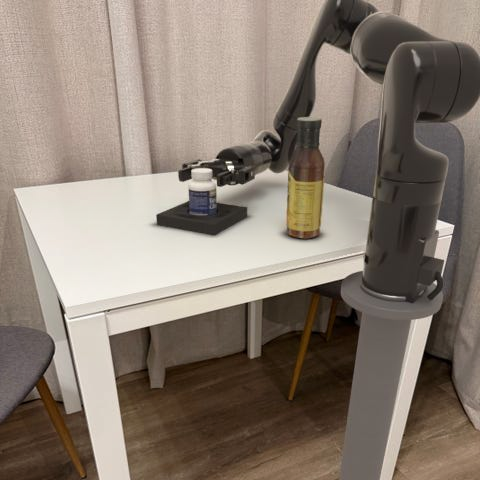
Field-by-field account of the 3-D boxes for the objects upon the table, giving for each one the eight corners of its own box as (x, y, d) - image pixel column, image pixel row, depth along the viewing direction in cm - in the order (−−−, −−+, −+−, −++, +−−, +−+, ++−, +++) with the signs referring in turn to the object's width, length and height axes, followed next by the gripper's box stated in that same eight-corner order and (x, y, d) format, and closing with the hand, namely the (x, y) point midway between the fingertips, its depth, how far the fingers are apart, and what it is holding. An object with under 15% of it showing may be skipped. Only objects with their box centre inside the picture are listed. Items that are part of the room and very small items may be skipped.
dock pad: (247, 216, 98) (247, 207, 97) (214, 235, 88) (214, 224, 87) (193, 208, 103) (193, 198, 102) (156, 224, 93) (155, 214, 92)
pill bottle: (214, 225, 93) (213, 173, 88) (187, 224, 93) (184, 172, 89) (219, 216, 98) (218, 167, 93) (192, 215, 98) (190, 166, 93)
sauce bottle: (296, 226, 92) (303, 114, 82) (326, 233, 89) (336, 117, 79) (278, 236, 87) (283, 118, 78) (309, 243, 84) (318, 121, 74)
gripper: (210, 142, 104) (166, 154, 92) (270, 148, 99) (231, 161, 86) (211, 177, 108) (169, 194, 96) (269, 185, 102) (231, 203, 90)
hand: (198, 178), depth 91 cm, fingers open, 8 cm apart
